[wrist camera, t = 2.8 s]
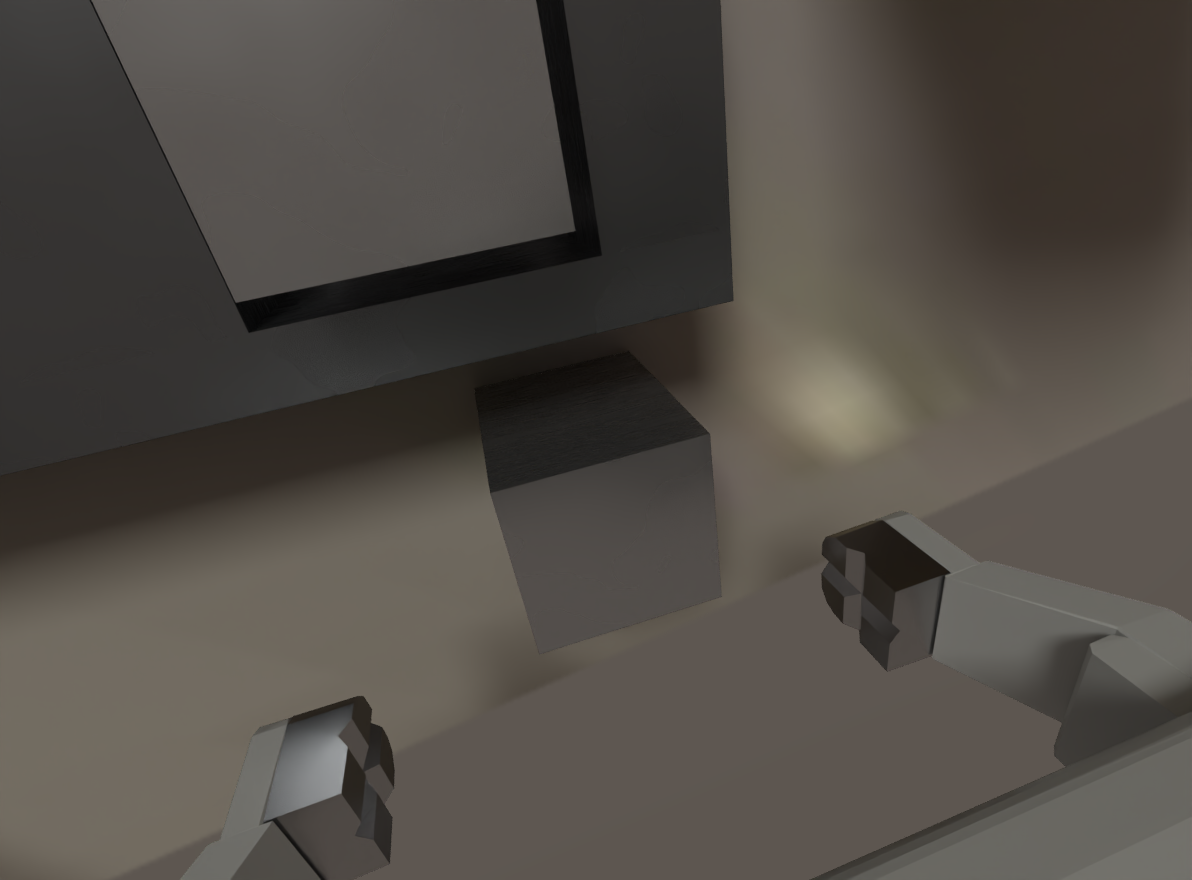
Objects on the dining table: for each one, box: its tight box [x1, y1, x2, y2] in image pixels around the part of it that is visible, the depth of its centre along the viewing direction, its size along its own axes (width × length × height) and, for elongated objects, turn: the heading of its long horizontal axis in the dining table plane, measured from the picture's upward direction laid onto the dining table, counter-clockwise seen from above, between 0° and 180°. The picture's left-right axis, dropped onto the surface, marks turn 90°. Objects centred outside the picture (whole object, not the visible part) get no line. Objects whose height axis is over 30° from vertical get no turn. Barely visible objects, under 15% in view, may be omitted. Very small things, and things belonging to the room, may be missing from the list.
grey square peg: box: [92, 0, 575, 303], centre depth 8 cm, size 4×4×5 cm
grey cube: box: [474, 351, 722, 654], centre depth 13 cm, size 4×4×5 cm
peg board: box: [0, 0, 733, 476], centre depth 8 cm, size 20×8×4 cm, turn 100°
